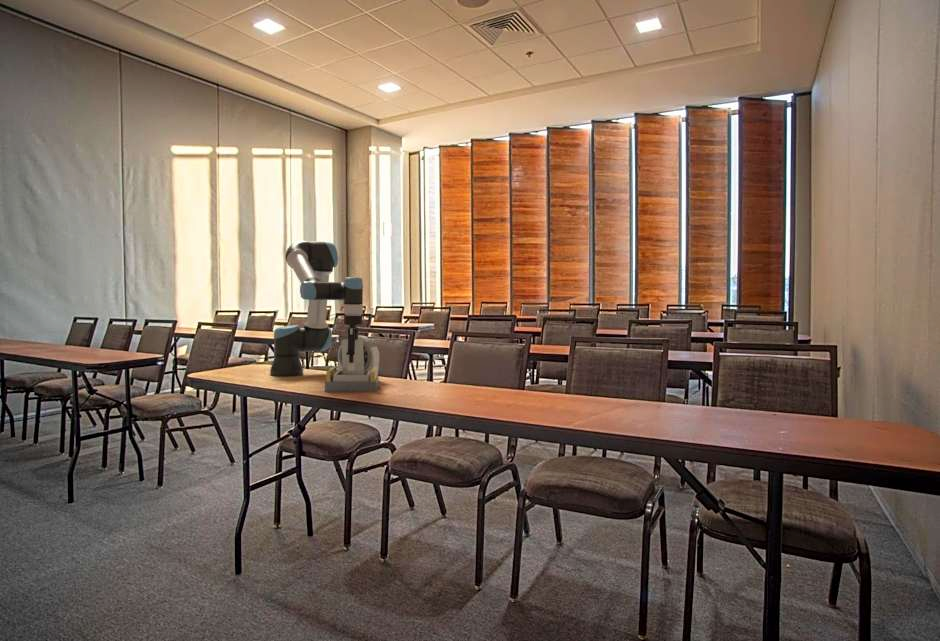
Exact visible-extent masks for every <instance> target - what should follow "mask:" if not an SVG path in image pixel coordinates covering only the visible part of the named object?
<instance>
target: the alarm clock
mask: <svg viewBox="0 0 940 641" xmlns="http://www.w3.org/2000/svg"><path fill="white" fill-rule="evenodd" d="M358 340H363V352H364V371H372V369H373V367H377V375H378V374H379V373H378V372H379V366H380V351H379V349H378V346H377V345H375V343H374V342H373V341H372V340H370V339H369V337H367V336H365V335H358ZM337 353H338V354H337V365H338V371H342V345H340V346H339V348H338V352H337Z"/></svg>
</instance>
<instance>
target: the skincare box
mask: <svg viewBox="0 0 940 641" xmlns="http://www.w3.org/2000/svg"><path fill="white" fill-rule="evenodd" d="M341 346H342V372H343V375H364V352H363V340H355V354H354V355H355V371H348V355H346V353H347V351H348V339H342V340H341Z"/></svg>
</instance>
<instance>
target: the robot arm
mask: <svg viewBox="0 0 940 641" xmlns="http://www.w3.org/2000/svg"><path fill="white" fill-rule="evenodd" d="M336 247H337V246H335V244H334V243H332V242H327V241H316V240H315V241H312V240H309V241H308V240H297V241H295V242H293V243H291V245H290V246H289V247H288V248H287V249H286V252H285V254H284V255H285V258H284V259H285V261H286V264H287V265H288V266H289V267H290V269H293V271H294V274H295V275H296V277H297V279H298V280H299V283H300V286H299V294H300V298H301V299H303V300H306V301H307V300H308V309H307V320H306V322H304V324H303V327H301V326H300V325H299V324H293V325H285V326H284V325H283V326H280V327H276V328H275V329H274V331H273V332H274V334H273V343H274V344H273V361H272V364H271V367H270V370H269V372H270V373H269V374H270V376H275V377H290V376H293V377H294V376H300V375H303V374H304V368H303V364H302V362H301V359H300V353H304V352H306V353H307V352H318V353H319V352H325V351H328V349H329V348H330V346H331V344H332V341H333V339H332V338H333V334H332V331H333V330H332V329H331V327H330V326H329V324H328V322H326V321H327V308H328V301H343V306H342V309H343V314H344V316H343V325H348V326H349V328H348V329H347V340H348V351H347V353H346V355H348V371H355V355H354V354H355V340H358V336H359V328H358V326H359V325H363V313H364V311H363V310H364V308H363V307H364V305H363V299H364V293H363V292H364V284H363V283H364V282H363V278H362V277H356V276H355V277H352V276H351V277H350V276H347V277H345V278H344V279H343V282H341V281H340V282H339V281H338V282H336V281H335V282H332V281H331V282H329V281H330V274H331V273H333V272H334V268H337V266H338V263H339V256H338V250H337V248H336Z"/></svg>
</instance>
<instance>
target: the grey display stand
mask: <svg viewBox="0 0 940 641" xmlns="http://www.w3.org/2000/svg"><path fill="white" fill-rule="evenodd" d="M325 372H326V376H325V378H326V379H325V381H324V392H325V393H326V392H327V393H328V392H329V393H330V392H335V393H337V392H338V393H341V392H343V393H353V392H354V393H357V392H358V393H361V392H363V393H365V392H366V393H370V392H369V391H374V393H375V391H376V392H377V390H378V388H379V375H378V374H377V367H373V369H372V371H364V375H343V372H342V371H339V370H337V366H331V367H330V368H329V369H328V370H327V371H325Z"/></svg>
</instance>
